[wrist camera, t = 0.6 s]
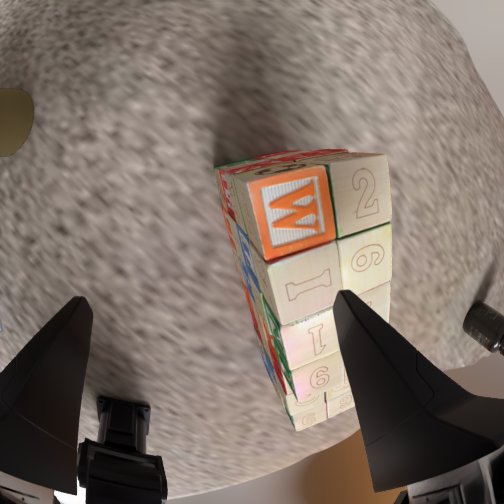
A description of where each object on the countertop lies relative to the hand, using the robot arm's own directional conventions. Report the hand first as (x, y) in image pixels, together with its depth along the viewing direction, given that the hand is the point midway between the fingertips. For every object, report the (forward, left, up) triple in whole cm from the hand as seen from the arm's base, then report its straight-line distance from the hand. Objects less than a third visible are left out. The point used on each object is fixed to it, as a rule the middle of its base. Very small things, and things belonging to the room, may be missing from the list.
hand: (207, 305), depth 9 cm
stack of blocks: (-3, -9, -14) cm, 16 cm away
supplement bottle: (-4, -52, -13) cm, 54 cm away
